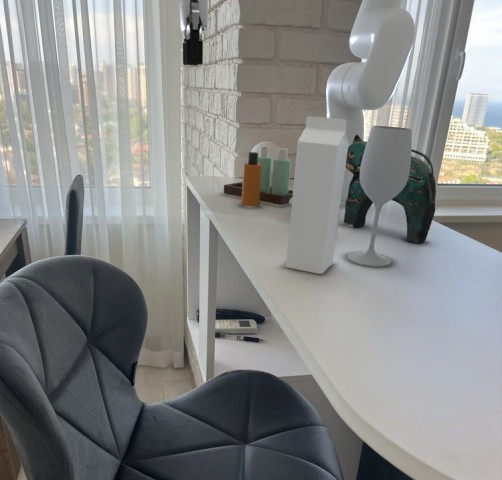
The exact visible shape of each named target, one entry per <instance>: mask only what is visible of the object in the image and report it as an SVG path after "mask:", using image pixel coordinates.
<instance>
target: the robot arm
mask: <svg viewBox="0 0 502 480" xmlns="http://www.w3.org/2000/svg"><path fill="white" fill-rule="evenodd" d="M403 1H404V0H362V1H361V4H360V7H359V8H358V9H359V10H358V12H357V15H356V17H355V19H354V23H353V26H352V29H351V31H350V35H349V41H348V46H349V50H350V52H351V54H352V55H354V56H355V57H356V58H357V59H362V60H365V62H364V61H363V62H362V61H361V62H360V61H359V62H358V61H355V62H354V61H353V62H352V61H351V62H345V63H342V64H340V65H338V66H336V67H335V68H334V69H333V70H332V71H331V73H330V74H329V76H328V79H327V81H326V87H325V99H326V100H325V102H326V118H333V119H345V120H346V122H347V124H346V135H347V138H348V142H349V144H348V147H349V146H350V145H351V144H352V143H353V140H354V138H355V136H356V135H358V136H359V137H360V138H361V139H362V140H363V141H365V134H366V117H365V115H366V114H365V111H376V110H380V109H382V108H383V107H384V106H385V105H387V104H388V103H389V102H390V100H391V98H392V96H393V94H394V93H395V91H396V88H397V86H398V83H399V81H400V79H401V76H402V74H403V71H404V69H405V67H406V64H407V62H408V59H409V56H410V54H411V51H412V49H413V46H414V43H415V42H414V41H415V34H416V26H415V21H414V18H413V15H411V13H410V12H409V11H408V10H407V9H405V8H403V7H402V4H403ZM178 5H179V6H178V11H179V22H180V29H181V31H182V32H183V42H182V64H183V65H184V66H195V67H196V66H201V65H203V64H204V63H203V62H204V61H203V59H204V58H203V57H204V40H203V33H205V32H206V31H207V30H208V29H209V0H178ZM401 7H402V8H401ZM353 175H354V174H353V173H352V172H350V171H349V170H348V169H347V168H346V167H345V173H344V181H343V188H342V195H341V202H340V206H345V203H346V200H347V197H348V190H349V185H350V182H351V180H352V178H353Z"/></svg>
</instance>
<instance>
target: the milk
mask: <svg viewBox="0 0 502 480" xmlns="http://www.w3.org/2000/svg"><path fill="white" fill-rule="evenodd" d="M346 124H347V122H346V120H345V119H333V118H327V117H320V116H309V115H308V116H307V117H306V119H305V128H304V129H303V131H302V133H301V134H300V136H299V138H298V140H297V146H296V157H295V168H294V178H293V190H292V191H293V198H292V205H291V210H290V218H289V219H290V220H289V230H288V239H287V241H288V242H287V250H286V252H287V253H286V261H285V268H287V269H293V270H298V271H302V272H303V271H304V272H308V273H313V274H317V275H323V273H325V271H327V270H328V269H329V268H330V267H331V266H332V265H333V260H334V253H335V245H336V238H337V231H338V225H339V216H340V210H341V205H340V202H341V195H342V188H343V181H344V173H345V166H346V159H347V151H348V144H349V142H348V138H347V135H346Z"/></svg>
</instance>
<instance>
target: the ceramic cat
mask: <svg viewBox="0 0 502 480" xmlns="http://www.w3.org/2000/svg"><path fill="white" fill-rule="evenodd" d="M366 144H367V141H365V140H364V141H363V140H362V139H361V138H360V137H359V136H358V135H356V136H355V138H354V140H353V143H352V144H351V145H350V146H349V147H348V151H347V159H346V166H345V167H346V168H347V169H348V170H349V171H350V172H352V173H353V174H354V175H353V178H352V180H351V182H350V185H349V190H348V197H347V200H346V203H345V205H344V206H345V207H344V216H343V223H344V224H346V225H347V224H348V225H352V228H360V227H364V226H365V224H366V219H367V215H368V211H369V210H370V209H371V206H372V205H374V203H373V202H372V201H371V200H370V198H369V197H368V196H367V195H366V193H365V192H364V190H363V188H362V186H361V183H360V167H361V162H362V158H363V155H364V151H365V147H366ZM411 153H415V154H417V155H419V156H421V157H422V158H424V159H425V160H426V162H427V163H428V164H427V163H426V162H425V161H424V160H423V159H421V158H418V157H417V156H414V155H411V164H410V172H409V177H408V180H407V183H406V185H405V187H404V188H403V190H402V191H401V192H400V193H399V194H398V195H397V196H396V197H394V198H393V199H391V200H390V201H392V202H395V203H397V204H399V205H400V206H401V207H403V210H404V213H405V220H406V221H405V222H406V241H407V242H409V243H413V244H421V243H423V242H426V240H427V237H428V234H429V232H430V229H431V226H432V222H433V220H434V216H435V213H436V197H437V186H436V185H437V184H436V179H435V178H436V177H435V175H434V174H435V173H434V166H433V163H432V161H431V159H430V158H429V156H428V155H426V154H425V153H423V152H421V151H419V150H416V149H412V150H411Z"/></svg>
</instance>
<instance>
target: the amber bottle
mask: <svg viewBox="0 0 502 480" xmlns="http://www.w3.org/2000/svg"><path fill="white" fill-rule="evenodd" d="M258 156H259V153H258V152H256V151H255V152H254V151H248V153H247V162H244V163H243V165H242V166H243V167H242V180H241V182H242V197H241V202H240V203H241V205H243V206H247V207H258V206H260V201H259V199H260V184H261V169H262V165H261V164H257V163H258Z"/></svg>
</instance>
